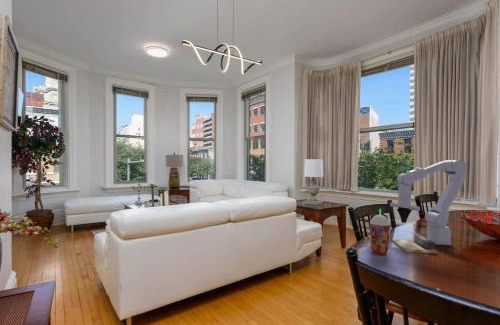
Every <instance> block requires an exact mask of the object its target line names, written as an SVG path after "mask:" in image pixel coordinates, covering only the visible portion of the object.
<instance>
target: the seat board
mask: <svg viewBox="0 0 500 325" xmlns="http://www.w3.org/2000/svg"><path fill="white" fill-rule="evenodd" d="M391 243H393V244H394V243H395V246H397V247H398V249H400V250H401V251H403V252H407V253H409V252H410V253H419V254H420V253H421V254H434V255H435V254H438V251H437V250H436V248H435V249H427V248H425V247H423V246H422V245H420V244H418V243H417V242H415V241H414V239H399V238H391Z"/></svg>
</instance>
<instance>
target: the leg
mask: <svg viewBox="0 0 500 325" xmlns="http://www.w3.org/2000/svg"><path fill="white" fill-rule="evenodd" d="M413 236H414V237H413V238H414V239H413V240H414V241H415V242H417V243H418V244H420V245H422V246H423V247H425V248H427V249H435V250H436V244H435V242H433V241H431V240H429V239H427V238H426V237H425V236H422V235H421V234H419V233H415V234H414V235H413Z"/></svg>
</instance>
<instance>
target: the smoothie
mask: <svg viewBox="0 0 500 325" xmlns="http://www.w3.org/2000/svg"><path fill="white" fill-rule="evenodd" d="M378 214H379V215H376V216H374V217H373V218H372V219H371V221H369V232H370V233H369V235H370V249H371V252H372V253H373V254H375V255H378V256H385V255H387V253H388V251H389V242H390V230H391V223H390V221H389V218H388V217H387V218H388V219H387V218H386V217H385V216H383V215H381V214H382V208H379V213H378Z"/></svg>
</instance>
